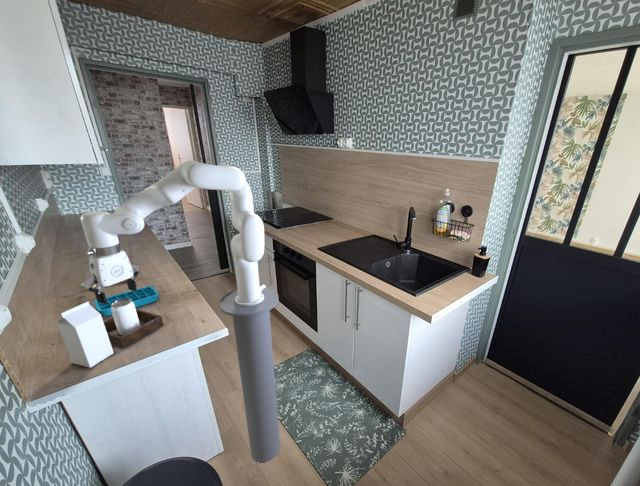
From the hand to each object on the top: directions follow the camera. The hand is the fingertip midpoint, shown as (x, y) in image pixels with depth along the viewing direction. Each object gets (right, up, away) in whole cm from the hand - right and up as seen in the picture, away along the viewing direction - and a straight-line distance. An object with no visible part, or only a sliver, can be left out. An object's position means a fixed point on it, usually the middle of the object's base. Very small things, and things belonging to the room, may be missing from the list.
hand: (118, 296), depth 101 cm
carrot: (-35, +1, +37) cm, 51 cm away
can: (-1, -14, +6) cm, 15 cm away
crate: (-1, -14, +6) cm, 15 cm away
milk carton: (-1, -19, -8) cm, 21 cm away
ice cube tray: (-15, -6, +22) cm, 27 cm away
